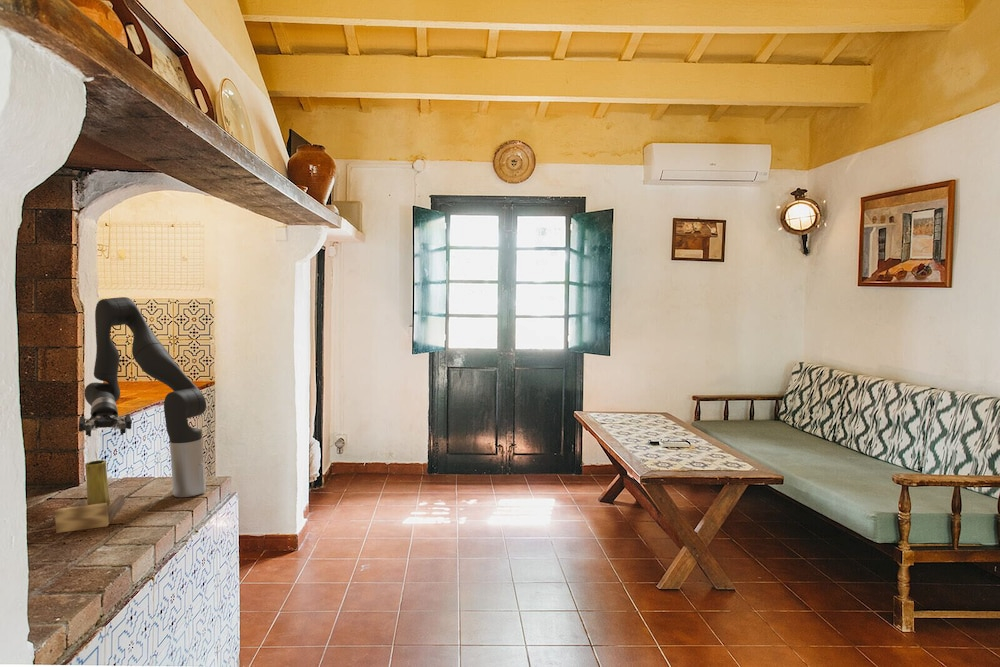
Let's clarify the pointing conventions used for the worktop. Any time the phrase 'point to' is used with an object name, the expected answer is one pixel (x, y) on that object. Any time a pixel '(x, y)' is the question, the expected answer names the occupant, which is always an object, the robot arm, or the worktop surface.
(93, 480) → the vase
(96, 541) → the worktop surface
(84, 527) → the track
